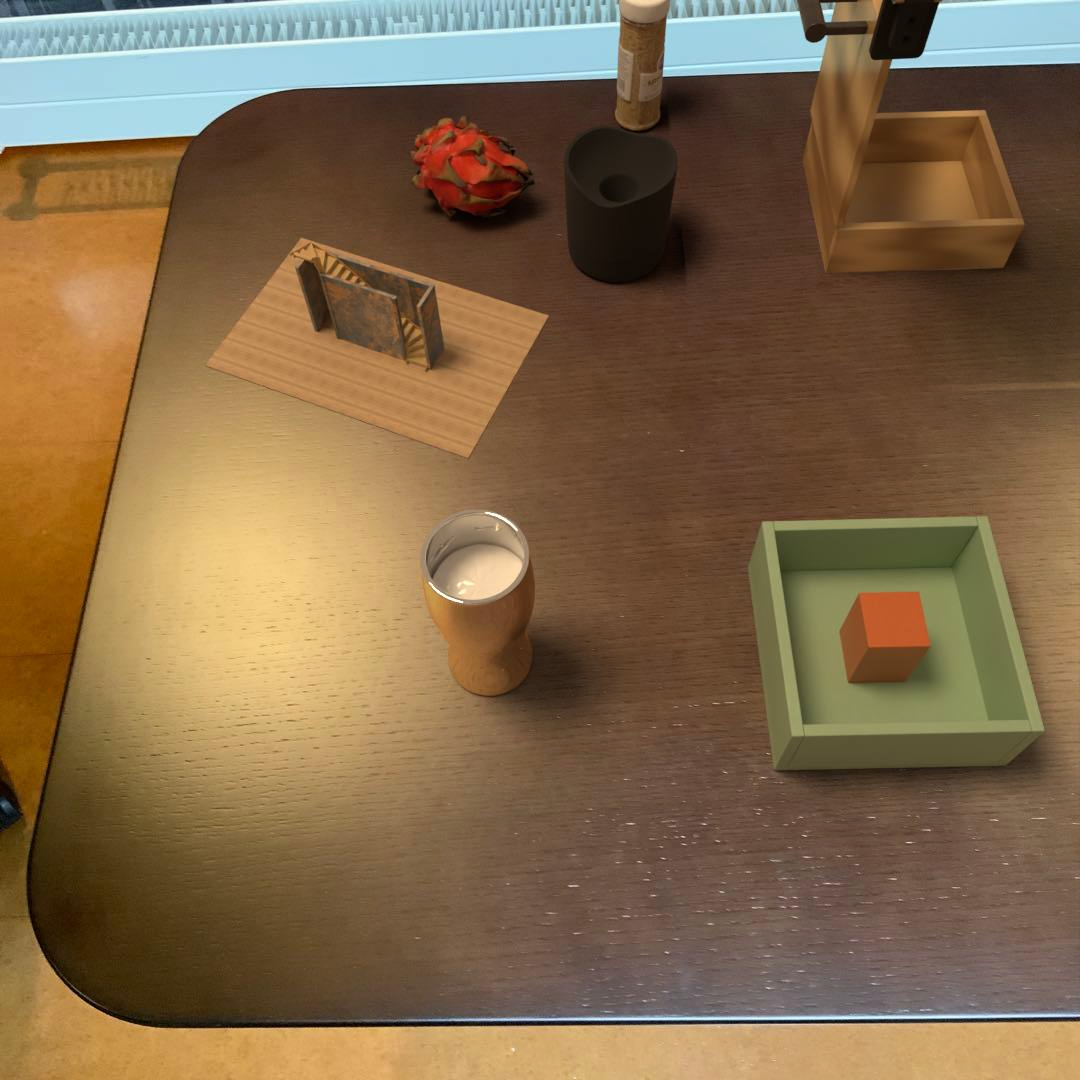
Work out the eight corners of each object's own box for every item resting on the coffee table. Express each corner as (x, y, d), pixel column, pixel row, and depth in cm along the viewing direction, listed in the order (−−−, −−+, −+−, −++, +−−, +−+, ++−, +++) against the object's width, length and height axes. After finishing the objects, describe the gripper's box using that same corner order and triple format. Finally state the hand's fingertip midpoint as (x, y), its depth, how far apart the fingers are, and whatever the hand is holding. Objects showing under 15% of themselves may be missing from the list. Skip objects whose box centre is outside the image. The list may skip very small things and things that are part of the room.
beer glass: (427, 684, 74) (397, 586, 62) (464, 601, 78) (443, 492, 65) (518, 715, 73) (508, 622, 60) (552, 630, 76) (549, 524, 63)
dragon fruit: (412, 192, 102) (527, 233, 101) (383, 201, 94) (507, 245, 94) (434, 101, 98) (554, 143, 98) (405, 103, 91) (534, 148, 90)
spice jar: (659, 133, 103) (671, 4, 91) (613, 132, 103) (618, 3, 92) (660, 103, 105) (671, -27, 94) (614, 102, 106) (620, -28, 94)
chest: (964, 161, 100) (985, 109, 95) (1000, 274, 93) (1025, 224, 88) (800, 166, 100) (813, 114, 95) (823, 279, 93) (838, 229, 88)
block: (895, 629, 75) (919, 591, 70) (905, 682, 73) (931, 646, 68) (838, 630, 75) (858, 592, 70) (847, 683, 73) (868, 647, 68)
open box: (956, 563, 78) (987, 515, 72) (1005, 765, 71) (1045, 731, 65) (747, 567, 79) (761, 520, 73) (773, 770, 71) (791, 736, 65)
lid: (861, -72, 81) (792, -70, 81) (896, 47, 73) (820, 50, 73) (817, 110, 95) (759, 112, 95) (843, 225, 88) (779, 227, 88)
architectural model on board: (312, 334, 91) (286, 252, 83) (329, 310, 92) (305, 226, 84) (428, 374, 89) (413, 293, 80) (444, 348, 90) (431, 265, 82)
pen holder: (631, 199, 99) (637, 108, 90) (688, 261, 94) (700, 172, 86) (545, 237, 96) (542, 147, 88) (599, 303, 92) (602, 215, 84)
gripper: (1096, -236, 47) (970, 93, 62) (997, -396, 56) (907, -73, 71) (930, -229, 47) (844, 99, 62) (857, -389, 56) (796, -68, 71)
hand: (878, 7), depth 66 cm, fingers open, 9 cm apart
